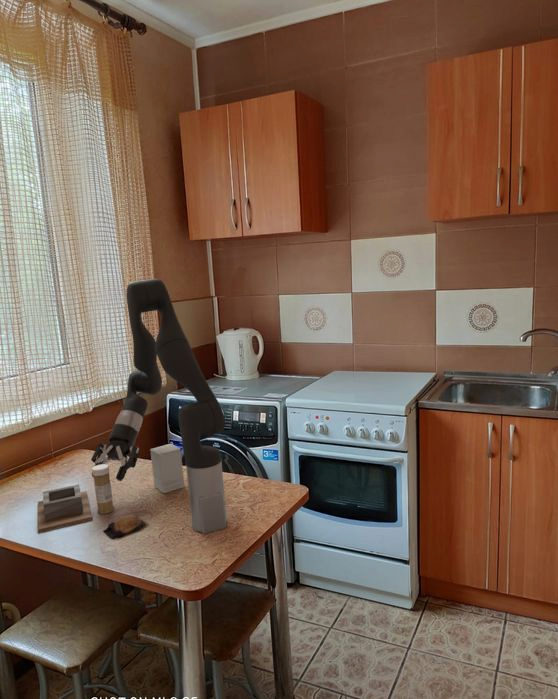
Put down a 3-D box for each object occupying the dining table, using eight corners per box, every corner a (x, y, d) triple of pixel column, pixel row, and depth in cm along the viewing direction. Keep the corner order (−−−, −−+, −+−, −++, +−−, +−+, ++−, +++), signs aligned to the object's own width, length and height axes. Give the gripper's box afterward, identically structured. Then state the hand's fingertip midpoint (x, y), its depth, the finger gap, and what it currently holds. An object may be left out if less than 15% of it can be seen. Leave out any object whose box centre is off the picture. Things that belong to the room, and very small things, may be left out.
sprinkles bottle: (110, 505, 162) (104, 462, 159) (116, 510, 158) (111, 466, 156) (95, 511, 159) (89, 466, 157) (101, 516, 155) (95, 471, 153)
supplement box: (185, 487, 172) (181, 448, 169) (162, 494, 167) (158, 454, 165) (175, 480, 178) (171, 442, 176) (153, 486, 174) (149, 448, 172)
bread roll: (136, 518, 154) (134, 506, 153) (151, 527, 148) (150, 514, 147) (100, 533, 146) (98, 520, 146) (115, 543, 140) (113, 530, 140)
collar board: (92, 519, 153) (90, 501, 152) (38, 532, 148) (35, 513, 147) (86, 494, 172) (84, 477, 171) (38, 504, 166) (35, 487, 165)
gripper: (100, 421, 167) (79, 471, 159) (139, 423, 162) (119, 475, 153) (114, 432, 173) (94, 481, 164) (152, 435, 168) (133, 485, 159)
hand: (106, 478), depth 159 cm, fingers open, 8 cm apart
